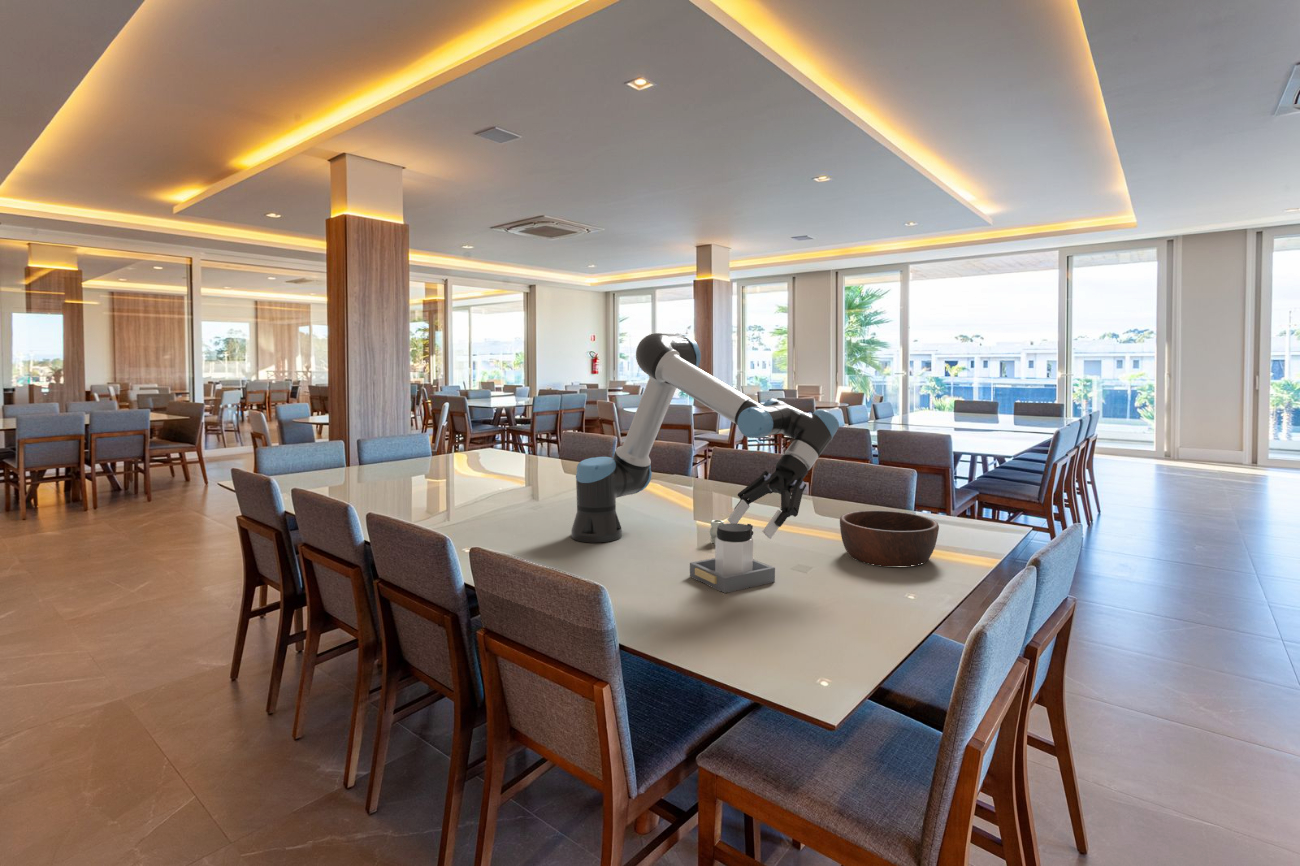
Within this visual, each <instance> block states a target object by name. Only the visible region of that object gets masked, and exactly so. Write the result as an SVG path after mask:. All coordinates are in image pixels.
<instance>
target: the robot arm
mask: <svg viewBox="0 0 1300 866" xmlns="http://www.w3.org/2000/svg"><path fill="white" fill-rule="evenodd" d="M636 347H637V348H636V350H635V359H636V363H637V365H638V367H639V368H640V369H641V370H642V371H643V372H644V373H645V374H646V375H647V376H648V378H649V379H648V381H647V383H646V386H645V389H644V391H643V394H642V396H641V398H640V400H639V404H638V406H637V409H636V411H635V414H634V416H633V418H632V421H631V424H630V427H629V429H628V431H627V434H626V436H625V439H624V442H623V444H622V445H619V446H618V447H616V449H615V451H614V453H613V456H612V457H609V456H596V457H589V458H586V459H583V460H581V461H580V462H578V464H577V465H576V474H575V482H576V514H575V517H574V521H573V523H572V527H571V532H570V533H571V534H570V535H571V539H572V540H574V541H577V542H582V543H591V544H592V543H595V544H596V543H608V542H613V541H617V540H620V539H621V538H622V536H623V530H622V525H621V523H620V519H619V516H618V513H617V506H616V505H617V503H616V502H617V501H616V499H617V498H622V497H625V496H630V495H631V496H632V495H635V494H637V493H639V492H641V491H643V490H645V489H646V488H647V487H648V486H649V485H650V482H651V480H652V476H653V473H652V472H653V471H652V470H651V469H652V467H651V462H652V460H651V458H650V456H649V455H650V453H651V451H652V448H653V446H654V443H655V441H656V439H657V436H658V433H659V431H660V429H661V426H662V424H663V421H664V419H665V417H666V414H667V412H668V410H669V408H670V405H671V403H672V399H673V397H674V396H675V394H676V393H675V392H676V390H677V389H678V391H681V392H683V393H685V395H687V396H689V397H691V398H692V399H695V400H696V401H697V402H699V403H701V404H702V405H703V406H705V407H707V408H709V409H710V410H712V411H714V412H715V413H717V414H719V415H720V416H722V417H723V418H725V419H727V420H728V421H730V422H732V423H734V424H735V425H736V426H737V428H738V429H739V431H740V433H741V434H742V435H743V436H744V437H746V438H749V439H762V438H764V437H768V436H773V435H778V434H779V435H780V434H782V435H785V436H787V437H789V438H790V439H792V441H791V442H790V445H789V446H788V447H787V448H786V450H785V451H784V454H783V455H781V457H780V458H779V459H778V461H777V462H776V464H775V471H774V472H773V473H769V471H768V470H764V471H763V472H762V473H761V475H760V476H759V477H757V478H756V479H755V480H753V482H751V483H750V484H749V485H747V486H746V487H745V488H744V489H742V490H740V492H738V494H737V497H738V498H739V499H740V500H739V502H738V503H737V504H736V505H735V507H734V509H733V511H732V512H731V514H730V515H729V516H728V518H727V519H726V521H728V522H729V524H731V523H734V524H739V522H740V521H741V519H742V518H743V517H744V515H745V514H746V512H747V511H748V509H749V508H750V504H752V503H754V502H756V501H757V500H759V499H761V498H762V497H765V496H766V495H767V494H768V495H771V494H773V493H774V494H779V495H780V504H781V505H780V507H779V509H780V510H779V509H777V510H776V511H775V513H774V514H773V516H772V517H771V519H770V520H769V521H768V523H767V524H766V526H765V527H764V528H763V530H762V533H763V534H764V535H765V536H766V537H767V538H768V539H771V540H772V538H773V536H774V535H775V533H776V532H777V530H778V529H779V528H780V527H781V526H783V525H784V523H785V521H786V520H788V518H790V517H797V516H798V514H799V510H800V507H801V502H802V497H803V493H804V491H805V489H806V487H807V483H805V481H804V479H805V477H806V476H807V475H808V472H809V471H811V469H812V468H813V466H814V464H815V463H816V462H817V461H818V459H819V457H820V456H821V454H822V453H823V452H824V451H825V449H826V447H827V446H828V445H829V444H830V443H831V441H833V438H834V436H835V435H836V433H837V431H838V430H839V427H840V423H839V420H838V419H837V417H836V416H835V415H834V414H832V413H831V412H830V411H828V410H825V409H821V408H819V409H816V410H815V411H814V412H812V413H811V414H810V413H808V412H805V411H803V410H800V409H799V408H797V407H795V406H792V405H790V404H788V403H786V402H785V401H783V400H780V399H776V398H774V397H773V398H769V399H768V400H767V401H765V402H764V403H763V404H761V403H759V402H758V401H756V400H754V399H752V398H751V397H750V396H748V395H745V394H744V393H743V392H741V391H739V390H737V389H735V388H733V387H732V386H730V385H729V384H727V383H726V382H723V381H721V380H720V379H718V378H717V377H715V376H714V375H711V374H710V373H708V372H707V371H704V369H701V368H699V367H700V363H701V358H702V357H701V356H702V355H701V350H700V347H699V345H698V343H697V341H696V340H695V339H693V337H691V336H689V335H687V334H682V333H661V332H660V333H659V332H655V333H649V334H648V335H645V337H643V338H642V339H641V340H640V341H639V342H638V345H637V346H636Z"/></svg>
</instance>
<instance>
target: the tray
mask: <svg viewBox="0 0 1300 866" xmlns="http://www.w3.org/2000/svg"><path fill="white" fill-rule="evenodd" d="M690 576H691V577H690ZM689 577H690V578H692V577H693V578H692V579H694V578H695V579H694V580H696V579H697V580H696V581H698V580H699V581H698V582H700V581H702V582H703V584H704V583H705V585H706V584H708V585H710V586H709V587H711V586H712V587H711V588H713V587H714V588H713V589H715V588H716V589H715V590H717V589H718V590H717V591H719V590H720V591H719V592H721V591H722V592H721V593H723V592H724V594H727V593H726V592H728V593H731V591H732V592H735V591H736V590H737V591H741V590H745V588H746V589H749V587H750V588H754V586H755V587H759V586H763V585H762V584H764V585H768V584H771V583H772V582H773V583H775V581H776V567H774V566H772V565H769V564H766V563H763V562H761V561H758V560H756V559H753V571H749V572H744V573H739V574H735V575H730V576H724V575H721V574H719V573H717V572H715V557H713V558H707V559H703V560H697V561H691V562H689ZM702 582H701V583H702ZM708 585H707V586H708ZM740 589H741V590H740Z"/></svg>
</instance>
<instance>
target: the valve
mask: <svg viewBox="0 0 1300 866" xmlns="http://www.w3.org/2000/svg"><path fill="white" fill-rule="evenodd" d="M722 524H725V522H724V520H722V519H712V520H711V521H710V530H709V535H710V543H711V542H712V543H714V544H713V545H715V538H716V537H717V527H718V526H719V525H722ZM746 525H748V526H750V527H751V538H752V539H753V535H754V531H753V527H754V525H753V524H751V523H747V524H746ZM712 543H711V544H712Z"/></svg>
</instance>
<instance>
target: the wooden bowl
mask: <svg viewBox="0 0 1300 866" xmlns="http://www.w3.org/2000/svg"><path fill="white" fill-rule="evenodd" d="M839 527H840V536H841V540H842V544H843V546H844V549H845V550H846V553H847V554H848V555H849V556H850V557H851V558H852V559H853V558H854V560H855V559H856V561H857V560H858V562H860V561H861V562H860V563H863V562H865V563H864V564H867V563H869V564H868V565H871V564H874V565H873V566H876V565H881V566H880V567H883V566H911V565H918V564H921V563H924V562H925V563H927V562H928V561H929V559H930V558H931V556H932V555H933V553H934V550H935V548H936V544H937V540H938V535H939V529H940V525H939V523H938V522H937V521H935V520H934V519H932V518H930V517H927V516H923V515H921V514H915V513H911V512H903V511H896V510H895V511H894V510H884V509H883V510H882V509H881V510H879V509H878V510H877V509H876V510H875V509H869V510H868V509H867V510H855V511H851V512H846V513H843V515H840V517H839ZM925 563H924V564H925Z"/></svg>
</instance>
